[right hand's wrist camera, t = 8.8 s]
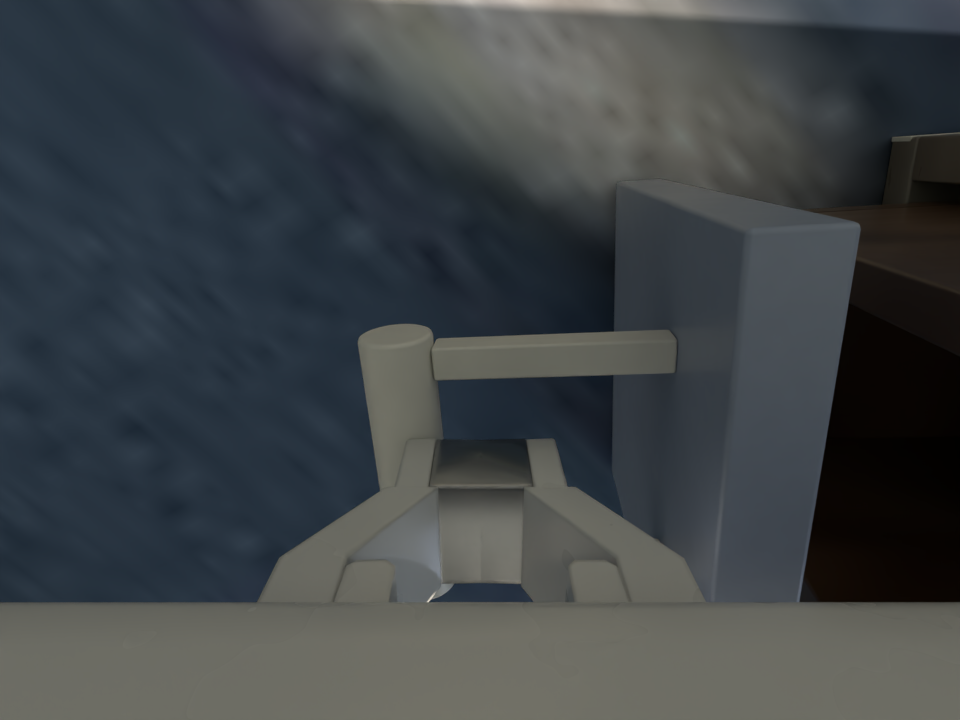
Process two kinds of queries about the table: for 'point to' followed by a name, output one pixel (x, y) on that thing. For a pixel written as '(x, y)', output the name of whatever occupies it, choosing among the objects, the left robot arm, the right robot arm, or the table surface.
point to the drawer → (752, 391)
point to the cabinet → (923, 169)
